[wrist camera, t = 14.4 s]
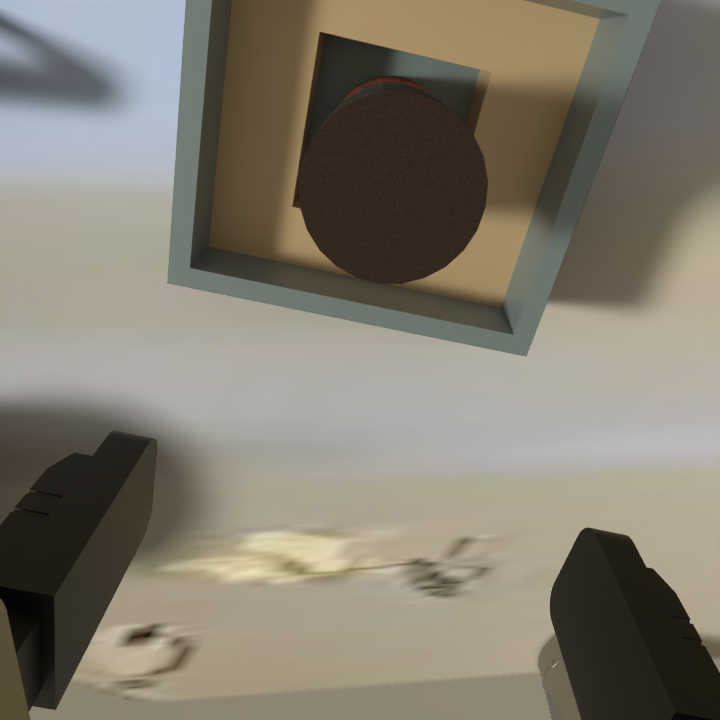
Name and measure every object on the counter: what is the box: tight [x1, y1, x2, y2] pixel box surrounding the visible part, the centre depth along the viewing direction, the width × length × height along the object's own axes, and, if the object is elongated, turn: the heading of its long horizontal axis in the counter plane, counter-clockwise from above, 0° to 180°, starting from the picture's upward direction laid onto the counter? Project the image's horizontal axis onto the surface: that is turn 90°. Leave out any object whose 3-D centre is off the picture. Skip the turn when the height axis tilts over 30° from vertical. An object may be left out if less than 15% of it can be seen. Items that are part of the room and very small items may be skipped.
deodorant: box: [298, 76, 488, 284], centre depth 26 cm, size 6×6×15 cm
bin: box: [168, 0, 661, 356], centre depth 30 cm, size 18×16×8 cm
